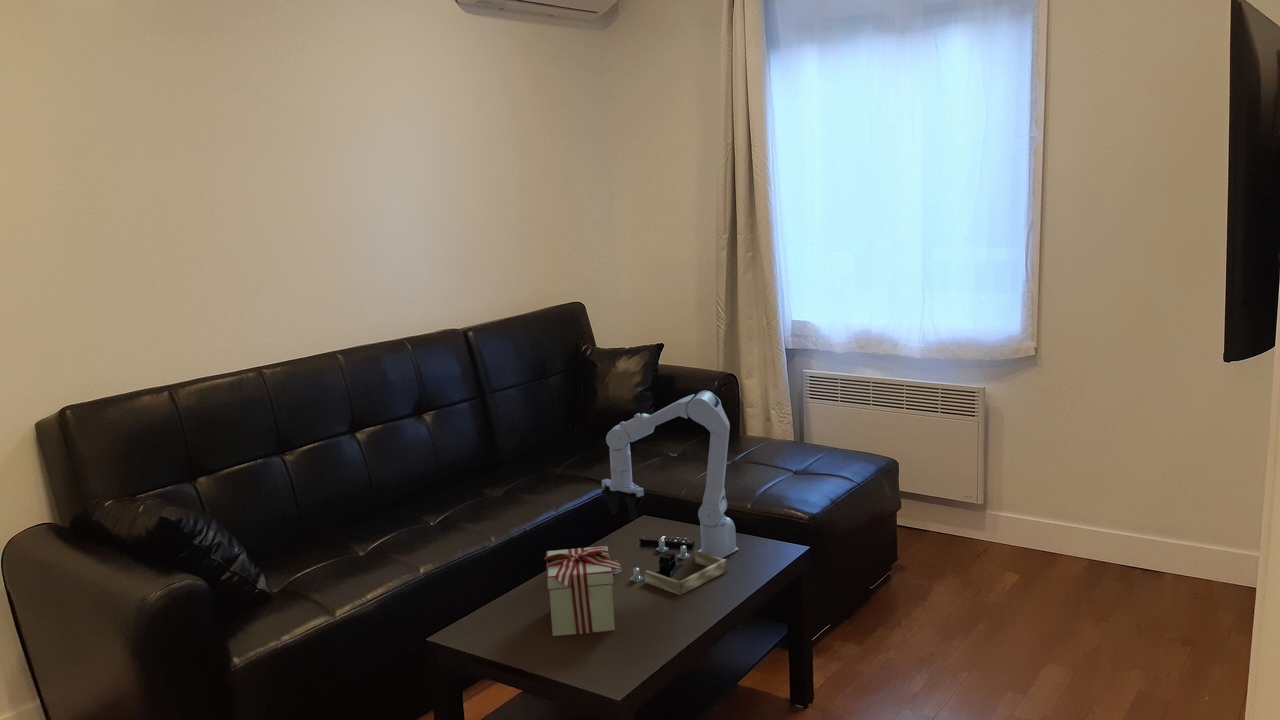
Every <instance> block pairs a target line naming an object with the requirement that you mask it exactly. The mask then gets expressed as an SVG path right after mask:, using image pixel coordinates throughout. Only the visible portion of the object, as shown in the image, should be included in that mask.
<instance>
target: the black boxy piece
mask: <svg viewBox="0 0 1280 720" xmlns="http://www.w3.org/2000/svg"><path fill="white" fill-rule="evenodd" d="M675 554H676V553H675V552H668V551H665V552H663V553H662V554H661V555H659V557H658V558H659V560H658V564H659V565H658V566H659V567H658V568H657V569H656V570H654V571H653V572H654V573H657V574H660V575H663V576H666V577H669V578H671V579H672V577H673V576H674V575H675V574H676V573H677V572H678V571H679V570H680V569H681V568H682V567H683V566H684V563H679V562H677V561H676V555H675Z"/></svg>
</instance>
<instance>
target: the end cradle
mask: <svg viewBox="0 0 1280 720" xmlns="http://www.w3.org/2000/svg"><path fill="white" fill-rule="evenodd" d="M694 557H695V558H694V560H695V561H694V562H695V564H698V565H702V566H704V568H703V569H701V570H699V571H697V572H695V573H693V574H691V575H689V576H687V577H685V578H684V579H681V580H677V579H674V578H672V577H671V578H669V577H666V576H663V575H660V574H657V573H654V572H655V571H651V570H645V571H644V582H645V584H648V585H651V586H653V587H657V588H659V589H663V590H665V591H668V592H670V593H673V594H676V595H679V596H682V595H684V594H686V593H688V592H689V591H691V590H693V589H695V588H697V587H699V586H701V585H703V584H705V583H707V582H709V581H711V580H713V579H715V578H717V577H719V576H720V575H722V574H724V573H726V572H728V560H727V559H725V558H719V557H716V556H712V555H709V554H706V553H703V552H699V551H698V550H696V551H694ZM705 567H706V568H705Z"/></svg>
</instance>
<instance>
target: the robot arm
mask: <svg viewBox="0 0 1280 720" xmlns="http://www.w3.org/2000/svg"><path fill="white" fill-rule="evenodd" d="M677 417H681V418H684V419H689V418H690V419H691V420H692V421H694V422H696V423H697V424H699V425H702V426H703V427H705V428H706V430H707V431H709V433H710V436H709V449H708V459H707V470H706V479H705V490H704V494H703V498H702V504H701V506H700V507H699V508H698V511H697V517H698V520H699V524H700V525H699V526H700V527H699V528H700V545H701V547H700V549H699V550H697V551H699V552H703V553H706V554H709V555H712V556H716V557H719V558H722V559H724V558H726V557H728V556H729V555H731V554H733V553H735V552H736V551H739V547H738V546H737V540H736V539H737V537H736V536H737V535H736V526H735V523H734V521H733V520H732V519H731V518H730V517H728V516H726V514H725V512H726V511H727V509H728V501H727V498H726V489H725V481H726V480H725V479H726V470H727V460H728V450H729V439H730V429H731V425H730V421H729V419H728V417H727V414H726V413H725V409H724V408H723V405H722V401H721V400H720V398H719V397H718V396H717V395H715V394H714V393H713V392H711V391H709V390H701V391H699V392H697V393H696V394H695V393H694V394H690V395H687V396H686V397H682V398H680V399H679V400H676V401H675V402H673V403H671V404H669V405H667V406H665V407H663V408H662V409H661V408H660V410H658V411H656V412H653V413H652V414H647V413H640V412H639V413H636V414H634V416H633V418H631V419H629V420H626V421H620V422H619V424H617V425H615V426H614V427H612V428H611V430H609V431H608V432H607V434H606V437H605V442H606V444H607V446H608V447H609V448H608V449H609V463H610V466H609V467H610V478H611V479H610V478H605V479H602V480H601V487H602V488H603V489H602V490H601V491H600V492H601V495H602V496H603V497H604V498H605V500H606V503H607V505H608V508H609V513H611V515H615V514H618V513H619V499H620V498H619V496H620V492H623V493H628V495H627V496H625V497H624V499H625V501H626V504H627V509H628V515H629V519H630V521H634V520H637V519H638V516H639V511H640V508H641V504H642V502H643V500H644V498H645V492H644V488H643V487H640V486H639V485H637V484H636V483H634V482H633V472H632V471H633V468H632V456H631V455H632V454H631V445H630V443H634V442H636V441H638V440H639V439H642V438H644V437H647V436H648V435H650V434H652V433H654V431H655V428H656V426H658V425H661V424H663V423H666V422H667V421H670V420H672V419H675V418H677ZM629 494H630V495H629Z"/></svg>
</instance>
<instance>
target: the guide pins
mask: <svg viewBox="0 0 1280 720" xmlns="http://www.w3.org/2000/svg"><path fill="white" fill-rule="evenodd" d="M679 549H680V553H679V554H677V558H678V559H681V560H687V559H689V558H690V557H691V554H689V553H688V552H687V545H683V544H682V545H680V548H679ZM655 551H656V552H659V553H662V554H663V553H664V552H668V551H669V547H667V546H666V543H665V539H664V538H659V539H658V547H657V548H655ZM614 560H615V561H618V559H614ZM612 571H613V575H617V574H619V573H622V572H623V570H622V568H621V570H616V569H612ZM632 571H633V576H631V577H629V579H630V581H632V582H635V583H639V582H641V581H643V580H645V577H644V576H642V575H641V574H640V567H638V566H637V567H633V568H632Z"/></svg>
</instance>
